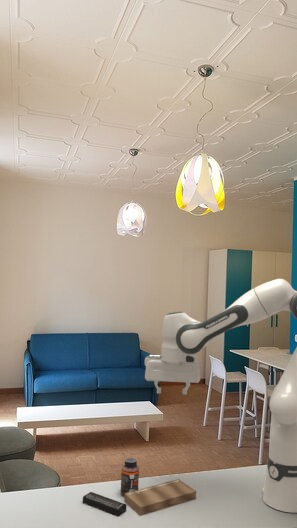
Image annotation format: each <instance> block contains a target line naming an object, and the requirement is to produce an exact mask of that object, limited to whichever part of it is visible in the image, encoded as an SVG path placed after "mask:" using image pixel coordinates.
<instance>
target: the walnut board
mask: <svg viewBox="0 0 297 528" xmlns="http://www.w3.org/2000/svg"><path fill="white" fill-rule="evenodd" d="M123 497H124V498H123V499H124V500H123V502H125V503H126V505H128V506H129V507H130V508H131V509H133V510H134V512H135V513H136V514H138V515H139V516H143V515H147V514H150V513H154V512H157V511H160V510H163V509H167V508H170V507H173V506H176V505H177V506H178V505H179V504H183V503H186V502H190V501H192V500H196V499H197V490H196V489H194V488H193V487H191V486H190V485H188V484H187V483H185V482H183V481H182V480H180V479H177V478H176V479H173V480H170V481H167V482H162V483H159V484H155V485H151V486H147V487H144V488H140V489H139V488H138V490H134V491H132V492H128V493H125V495H124V496H123Z"/></svg>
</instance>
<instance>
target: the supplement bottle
mask: <svg viewBox="0 0 297 528" xmlns="http://www.w3.org/2000/svg"><path fill="white" fill-rule="evenodd" d="M137 462H138V460H137V459H136V458H135V457H127V458H125V459H124V465H122V467H121V479H120V494H121V495H122V496H123V497H124V495H125V493H128V492H132V491H134V490H139V485H140V484H139V482H140V481H139V479H140V467H139V465H138V464H137Z"/></svg>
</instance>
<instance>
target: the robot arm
mask: <svg viewBox="0 0 297 528" xmlns="http://www.w3.org/2000/svg"><path fill="white" fill-rule="evenodd" d="M283 311H287V312H290V313H291V314H292V316H293V317H294V319H296V321H297V289H294V288H293V286H292V285H291V284H290V282H289V281H287V280H286V279H284V278H275V279H273V280H270V281H267V282H264V283H262V284H260V285H257V286H256V287H253V288H252V289H250V290H248V291H246V292H245V293H244V294H243V295H241V296H240V297H238V298H237V299H236V300H235V301H234V302H233V303H231V304H230V305H229V306H228V307H227V308H226V309H225V310H223V311H221V312H220V313H217V314H215V315H214V316H212V317H210V318H208V319H206V320H204V321H199V320H196V319H194V318H193V317H190V316H189V315H188V314H187V313H186V312H185V311H173V312H169V313H167V314H165V315H164V317H163V322H162V329H161V337H162V343H161V347H160V348H161V351H160V352H161V353H160V354H155V355H154V354H149V355H147V356H145V358H144V366H145V372H144V379H145V380H146V381H147V382H154V383H153V384H154V386H155V388H156V394H162V388H161V387H159V386H158V384H159V382H166V383H167V382H170V383H185V387H184V388H182V395H188V390H189V388H190V386H191V383H194V384H195V383H196V384H199V382H200V381H201V368H200V366H199V364H198V356H197V355H196V354H197V353H199V352H200V351H201V350H202V349H204V348H206V347H207V346H209V344H210V343H211V341H212V339H214V338H215V337H217V336H219V335H221V334H223V333H225V332H228V331H230V330H232V329H235V328H237V327H241V326H246V325H247V326H248V325H250V324H254V323H257V322H260V321H264V320H265V319H269V318H270V317H271V316H274V315H276V314H278V313H279V312H283ZM268 405H269V410H270V412H271V416H270V426H269V427H270V428H269V429H270V430H269V441H268V442H269V445H268V446H269V449H268V450H269V451H268V456H267V460H266V463H267V465H266V466H267V469H266V471H265V478H264V486H263V487H262V489H261V492H262V500H263V502H264V503H265V505H267V506H268V507H271V508H272V509H274V510H278V511H281V512H285V513H292V514H293V513H294V514H297V346H296V348H295V350H294V351H293V353H292V355H291V357H290V358H289V361H288V363H287V365H286V367H285V369H284V370H283V373H282V374H281V377H280V379H279V380H278V383H277V384H276V386H274V388H273V391H272V393H271V396H270V399H269V404H268Z"/></svg>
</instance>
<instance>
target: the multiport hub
mask: <svg viewBox="0 0 297 528" xmlns="http://www.w3.org/2000/svg"><path fill="white" fill-rule="evenodd" d="M82 503H83V504H85V505H86V506H90V507H92V508H95V509H97V510H100V511H103V512H105V513H108V514H110V515H112V516H116V517H121V516H122V515H123V514H125V513H126V512H127V503H126V504H125V503H123V502H120V501H117V500H114V499H112V498H109V497H106V496H104V495H101V494H98V493H97V492H96V493H95V492H93V491H90V492H87V493H86V494H84V495H83V496H82Z"/></svg>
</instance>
